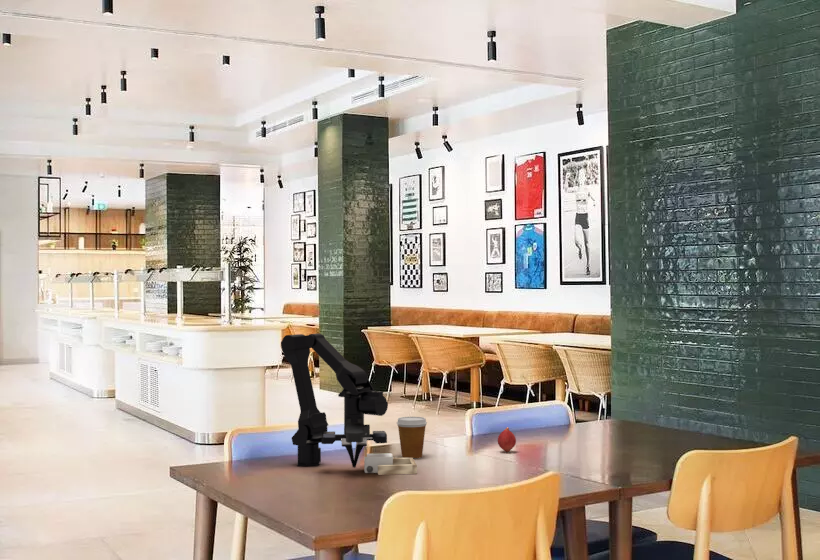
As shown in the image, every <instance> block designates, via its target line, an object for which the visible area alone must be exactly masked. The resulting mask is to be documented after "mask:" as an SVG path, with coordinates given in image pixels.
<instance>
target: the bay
mask: <svg viewBox="0 0 820 560" xmlns="http://www.w3.org/2000/svg"><path fill="white" fill-rule="evenodd" d="M417 466H418V465H417V463H416V461H415V459H413V458H403V457H393V465H378V473H377V475H378V476H379V475H380V476H381V475H382V476H383V475H384V476H387V475H390V476H391V475H417V474H418V471H417V470H418V467H417Z"/></svg>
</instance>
